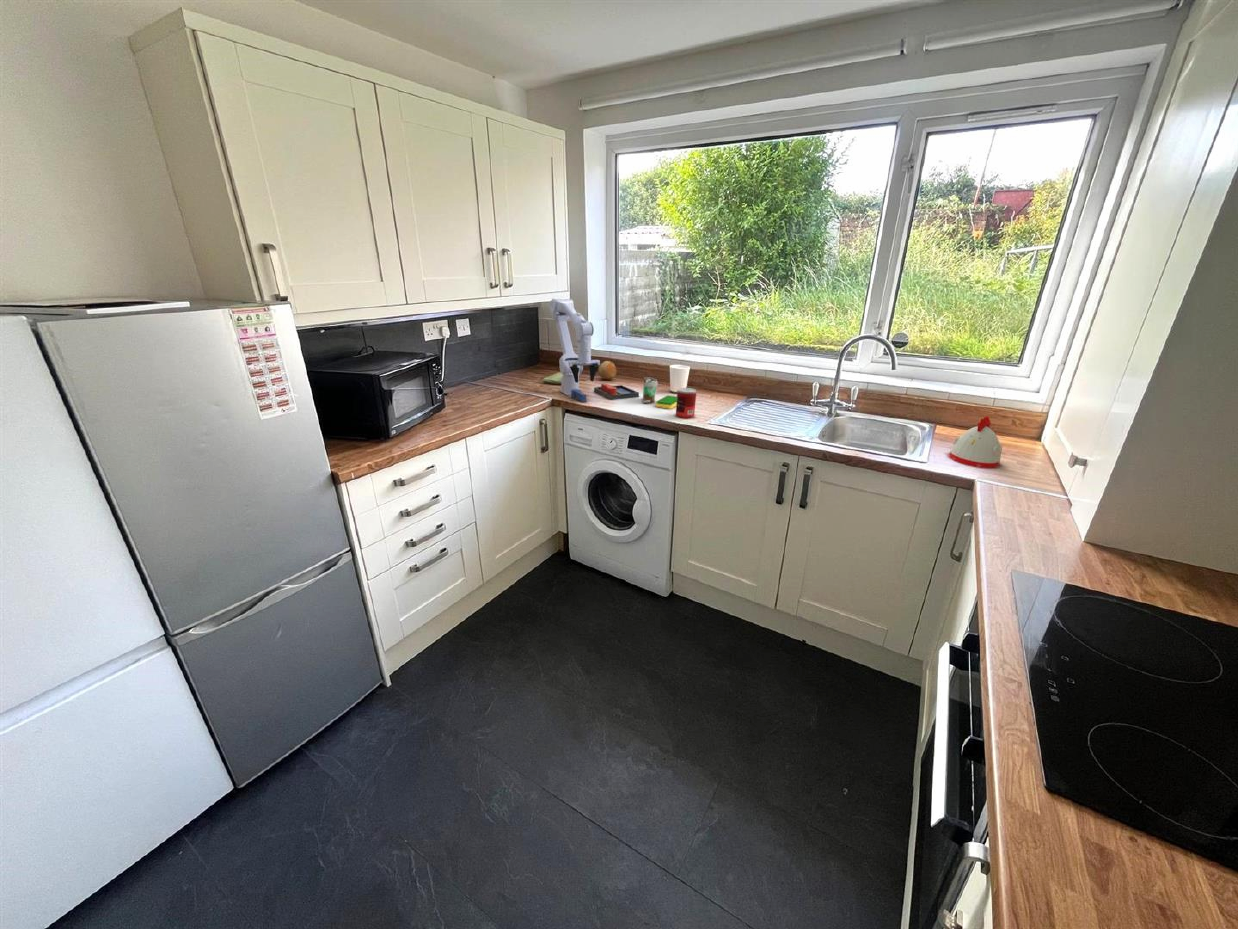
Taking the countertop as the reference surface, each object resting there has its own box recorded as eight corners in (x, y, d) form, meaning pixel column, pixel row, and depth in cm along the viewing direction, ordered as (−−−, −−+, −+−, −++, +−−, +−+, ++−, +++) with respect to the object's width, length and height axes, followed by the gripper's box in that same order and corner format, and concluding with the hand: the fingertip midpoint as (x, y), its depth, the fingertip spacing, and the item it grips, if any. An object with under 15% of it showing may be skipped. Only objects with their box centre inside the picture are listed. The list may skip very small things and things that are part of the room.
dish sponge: (655, 406, 219) (656, 401, 218) (666, 400, 230) (667, 395, 230) (670, 409, 216) (671, 403, 215) (681, 402, 228) (681, 397, 227)
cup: (691, 391, 248) (693, 366, 244) (682, 395, 241) (684, 369, 236) (673, 388, 253) (675, 363, 249) (664, 392, 245) (666, 366, 241)
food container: (657, 405, 222) (658, 382, 218) (643, 404, 222) (644, 382, 218) (656, 398, 233) (657, 377, 230) (642, 397, 233) (644, 376, 230)
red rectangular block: (609, 396, 231) (610, 388, 230) (598, 390, 240) (599, 383, 239) (618, 395, 233) (618, 388, 232) (607, 390, 242) (607, 383, 241)
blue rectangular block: (578, 395, 233) (578, 388, 232) (588, 401, 224) (588, 394, 222) (569, 396, 231) (569, 389, 230) (579, 402, 222) (579, 395, 220)
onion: (596, 381, 265) (596, 362, 261) (600, 377, 274) (600, 359, 270) (614, 382, 263) (614, 363, 260) (617, 378, 273) (618, 360, 269)
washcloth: (541, 383, 256) (541, 376, 255) (559, 377, 271) (559, 371, 270) (563, 386, 251) (563, 380, 250) (580, 380, 266) (580, 374, 264)
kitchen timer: (941, 457, 169) (954, 414, 163) (959, 450, 176) (972, 409, 171) (988, 470, 158) (1003, 425, 153) (1005, 462, 166) (1020, 419, 160)
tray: (610, 399, 228) (610, 395, 227) (594, 391, 242) (594, 387, 241) (638, 396, 235) (639, 392, 234) (621, 389, 249) (621, 385, 248)
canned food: (695, 414, 209) (698, 388, 205) (692, 419, 202) (694, 392, 198) (677, 412, 211) (679, 386, 207) (673, 417, 204) (675, 390, 200)
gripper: (572, 353, 212) (573, 384, 217) (603, 351, 219) (602, 382, 224) (566, 350, 218) (566, 381, 223) (596, 349, 225) (595, 379, 230)
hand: (584, 381), depth 224 cm, fingers open, 7 cm apart
